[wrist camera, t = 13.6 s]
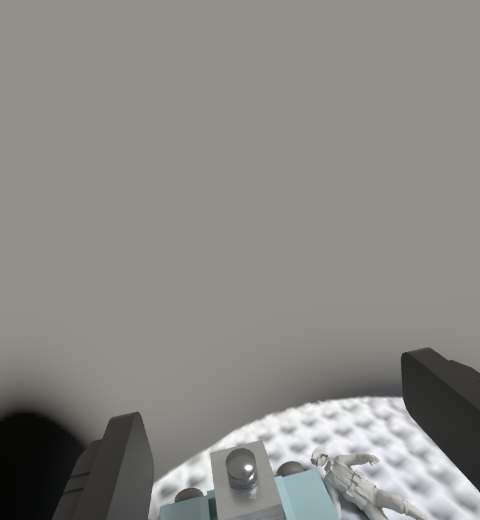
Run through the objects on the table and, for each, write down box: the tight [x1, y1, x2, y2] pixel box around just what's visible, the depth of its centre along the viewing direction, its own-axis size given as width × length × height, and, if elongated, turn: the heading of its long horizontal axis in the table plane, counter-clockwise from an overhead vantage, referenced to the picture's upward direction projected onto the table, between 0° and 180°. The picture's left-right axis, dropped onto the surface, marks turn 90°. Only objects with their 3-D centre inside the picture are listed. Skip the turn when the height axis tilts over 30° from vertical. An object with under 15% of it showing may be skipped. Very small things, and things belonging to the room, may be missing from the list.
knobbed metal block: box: [210, 440, 284, 520], centre depth 28 cm, size 5×6×11 cm
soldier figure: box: [311, 446, 431, 520], centre depth 32 cm, size 8×5×12 cm
